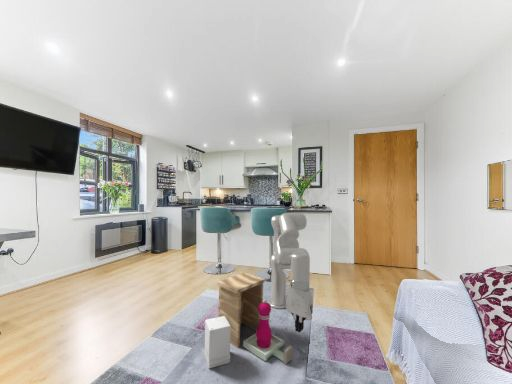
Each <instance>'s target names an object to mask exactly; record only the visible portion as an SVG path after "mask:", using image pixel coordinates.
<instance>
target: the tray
mask: <svg viewBox="0 0 512 384" xmlns="http://www.w3.org/2000/svg"><path fill="white" fill-rule="evenodd" d="M257 339H258V338H257V337H256V332H255V333H253V334H252V335H250V336H249V337H248V338H246V339H244V340H243V343H242V344H243V345H242V346H243V348H245V349H246V350H247V351H249V352H251V353H252V354H253V355H255V356H257V357H258V358H260V359H261V360H262V361H264V362H267V361H268V360H269V359H270V358H272V357H273V356H274V357H276V359H279V360H280V361H282V362H283V363H284V364H285V365H287V364H288V363H289V362H290V361H292V360H293V359H292V358H293V347H292V346H291V345H289V346H288V347H286V348H285V349H284V350H283V351H284V352H282V351H280V350H281V349H282V348H283V347H284V346H285V342H284V341H285V340H284V339H282V338H280V337H279V336H276V335H274V334H273V333H272V337H271V345H270V347H268V348H260V347H259V346H258V345H257Z"/></svg>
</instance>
